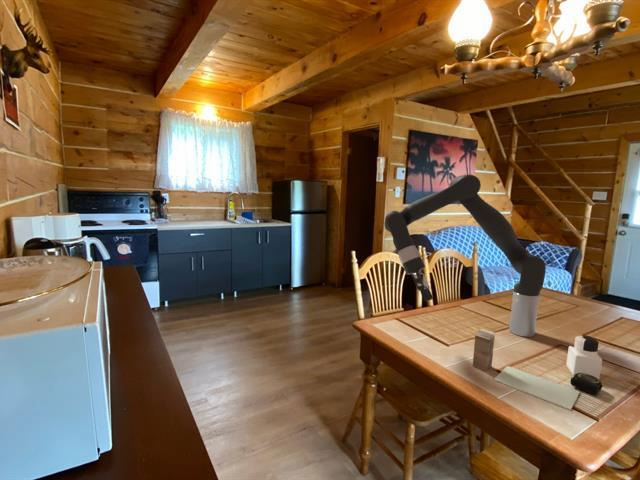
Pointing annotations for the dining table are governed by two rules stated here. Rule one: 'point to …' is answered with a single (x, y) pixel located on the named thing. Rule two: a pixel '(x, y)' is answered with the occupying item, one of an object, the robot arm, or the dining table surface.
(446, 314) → the dining table surface
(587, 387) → the tape measure
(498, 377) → the sage mat
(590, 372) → the medicine bottle
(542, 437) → the dining table surface
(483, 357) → the walnut block
